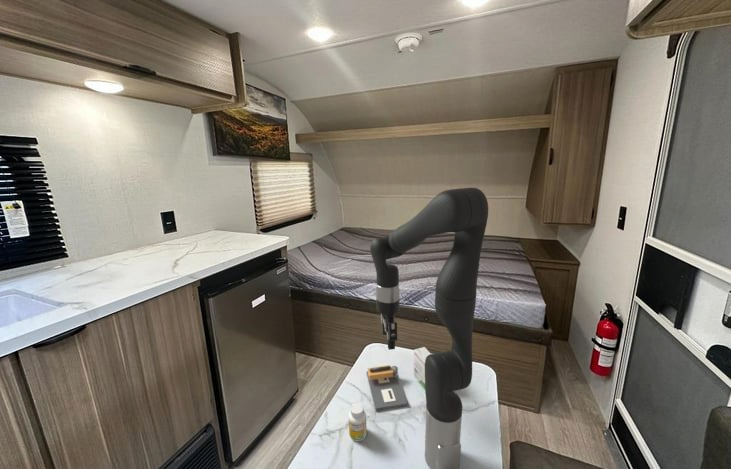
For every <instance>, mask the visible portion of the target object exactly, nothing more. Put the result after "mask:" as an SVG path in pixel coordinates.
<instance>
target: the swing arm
mask: <svg viewBox="0 0 731 469" xmlns="http://www.w3.org/2000/svg"><path fill="white" fill-rule="evenodd" d="M398 370H399V368H398V366H397V365H392V366H391V364H389V365H388V364H387V365H383V366H382V365H381V366H374V367H368V368H367V371H368V376H369V380H375V379H381V378H388V377H393V375H397V376H398V375H399V374H398V373H399V371H398Z"/></svg>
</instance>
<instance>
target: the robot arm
mask: <svg viewBox="0 0 731 469" xmlns="http://www.w3.org/2000/svg"><path fill="white" fill-rule="evenodd" d="M488 219H489V202H488V199H487V196H486V195H485V193H484V192H483V190H481V189H479V188H478V187H462V188H454V189H453V188H452V189H448V190H443V191H441V192H439V193H438V194H436V196H434V197H433V198H431V200H430V201H429V202H428V203H427V204H426V205H425V206H424V207H423V208H422V209H421V210H420V211H419V212H418V213H417V214H416V215H415V216H413V218H411V219H410V220H409V221H407V222H405V223H403V224H402V225H400V226H398V227H397V228H395V229H393V231H392V232H391V233H390V234H389V235H387V236H382V237H376V238H374V239H373V240H372V241H371V243H370V247H369V251H370V255H371V258H372V260H373V265H374V267H375V272H376V287H375V288H376V289H375V296H376V297H375V298H376V304H375V305H376V311H377V312H378V313H379V314H380V316H379V317H380V318H379V319H380V320H381V321H380V324H382V325H381V326H382V327H381V328H382V335H384V336H385V335H386V337H387V349H388V350H395V349H396V341H398V322H397V321H396V317H395V315H396V314H397V313H399V311H400V308H401V307H400V305H401V303H400V292H401V291H400V279H399V268H398V266H397V265H395V264H392V263H387V260H390V259H394V258H398V257H401V256H403V255H405V254H406V253H407V252H408V251H410V250H412V249H415V248H417V247H419V246H420V245H421V244H424V242H425V241H426V240H427V238H430V237H433V236H437V235H442V234H449V233H451V234H452V233H453V234H454V240H453V245H452V248H451V251H450V253H449V255H448V257H447V259H446V261H445V263H444V264H443V267H442V268H441V270H440V272H439V274H438V276H437V280H436V282H435V291H434V292H435V293H434V309H435V312H436V314H437V316H438V318H439V320H440V321H441V322H442V324H443V325H444V327H445V329H446V330H447V332H448V333H449V335H450V336H451V348H450V350H446V351H441V352H434V353H431V354H430V355H428V356H427V357H426V360H425V389H424V391H425V401H426V402H425V404H426V405H425V428H424V429H425V431H424V432H425V435H424V438H425V439H424V458H425V462H426V464H427V466H428V467H429V468H430V469H460V467H461V466H460V465H461V453H462V444H461V436H462V435H461V434H462V432H461V431H462V418H463V417H462V415H463V402H462V399H461V398H460V396H459V395H458V393H457V392H455V391H460V390H461V391H462V390H463V389H466V388H468V387H470V385H471V383H472V379H473V330H474V319H475V318H474V317H475V310H476V303H477V288H478V287H477V286H478V277H479V268H480V259H481V253H482V247H483V242H484V237H485V232H486V227H487V222H488Z"/></svg>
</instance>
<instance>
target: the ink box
mask: <svg viewBox="0 0 731 469" xmlns="http://www.w3.org/2000/svg"><path fill="white" fill-rule="evenodd" d="M430 354H432V353H431V352H430V350H428V349H427V348H426V347H425V346H423V347H419V348H415V349H414V350H413V377H414V378H415V379H416V380H417V381H418V382H419V384H420V386H421V387H422V388H423V390H425V360H426V357H427V356H428V355H430Z"/></svg>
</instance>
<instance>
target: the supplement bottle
mask: <svg viewBox="0 0 731 469" xmlns="http://www.w3.org/2000/svg"><path fill="white" fill-rule="evenodd" d="M347 417H348V418H347V419H348V430H349V432H348V434H349V438H350V439H351V440H353V441H354V442H362V441H363V440H365V439H366V437H367V430H368V428H367V413H366V411H365V410H364V405H363V404H362V403H360V402H355V403H352V405H350V411H349V413H348V416H347Z"/></svg>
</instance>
